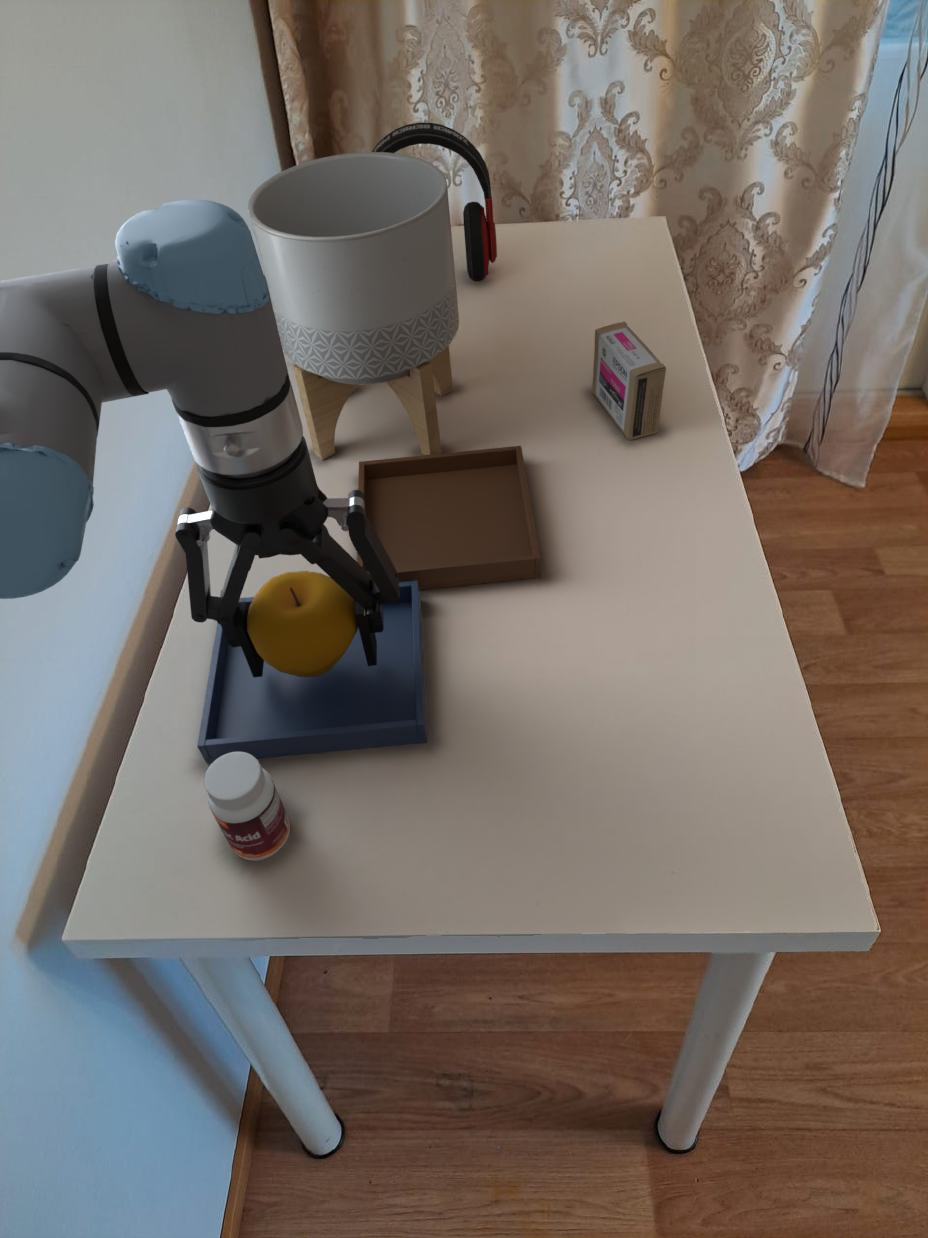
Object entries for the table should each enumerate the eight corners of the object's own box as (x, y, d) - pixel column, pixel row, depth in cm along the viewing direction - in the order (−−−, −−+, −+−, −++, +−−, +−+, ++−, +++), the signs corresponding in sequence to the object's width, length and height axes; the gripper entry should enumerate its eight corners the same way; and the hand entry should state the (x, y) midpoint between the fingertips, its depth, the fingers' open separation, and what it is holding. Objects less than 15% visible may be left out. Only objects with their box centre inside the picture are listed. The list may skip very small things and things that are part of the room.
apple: (380, 629, 80) (365, 556, 73) (347, 710, 74) (326, 639, 67) (286, 615, 82) (262, 543, 75) (246, 693, 76) (217, 622, 69)
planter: (501, 420, 103) (488, 186, 83) (367, 496, 95) (319, 259, 76) (402, 357, 113) (370, 136, 94) (274, 422, 106) (211, 196, 87)
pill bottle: (219, 854, 68) (185, 796, 62) (247, 800, 71) (217, 740, 65) (275, 869, 67) (247, 811, 61) (301, 814, 70) (277, 754, 64)
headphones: (370, 303, 123) (345, 148, 108) (373, 268, 129) (349, 117, 115) (499, 292, 122) (491, 135, 107) (495, 258, 129) (488, 105, 114)
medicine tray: (360, 595, 86) (356, 576, 84) (362, 480, 97) (358, 461, 95) (541, 577, 86) (541, 558, 84) (521, 464, 97) (521, 445, 95)
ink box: (590, 393, 105) (592, 327, 99) (620, 385, 106) (624, 319, 99) (628, 442, 98) (633, 375, 92) (660, 433, 99) (667, 366, 93)
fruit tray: (206, 764, 74) (197, 746, 72) (228, 618, 85) (220, 599, 83) (427, 743, 74) (423, 724, 72) (420, 599, 85) (417, 580, 83)
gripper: (77, 499, 59) (183, 706, 75) (411, 465, 58) (444, 681, 75) (101, 430, 64) (195, 638, 80) (409, 398, 63) (439, 614, 80)
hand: (315, 659), depth 78 cm, fingers closed on apple, 9 cm apart
